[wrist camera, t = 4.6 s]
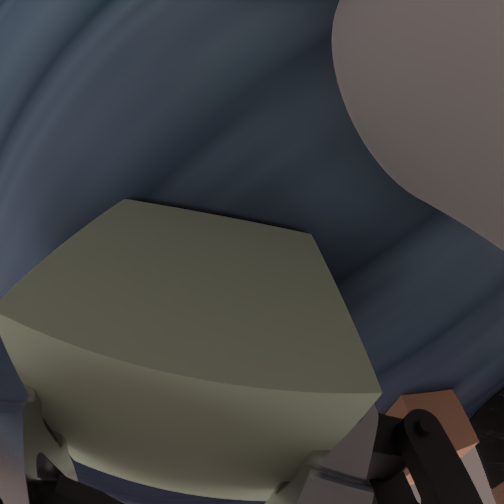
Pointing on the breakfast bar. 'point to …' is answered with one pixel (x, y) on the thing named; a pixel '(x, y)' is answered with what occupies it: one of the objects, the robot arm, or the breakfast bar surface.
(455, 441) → the terracotta block
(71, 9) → the breakfast bar surface
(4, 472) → the robot arm
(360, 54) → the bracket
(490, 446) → the travel mug
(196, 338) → the sage block
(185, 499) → the breakfast bar surface
